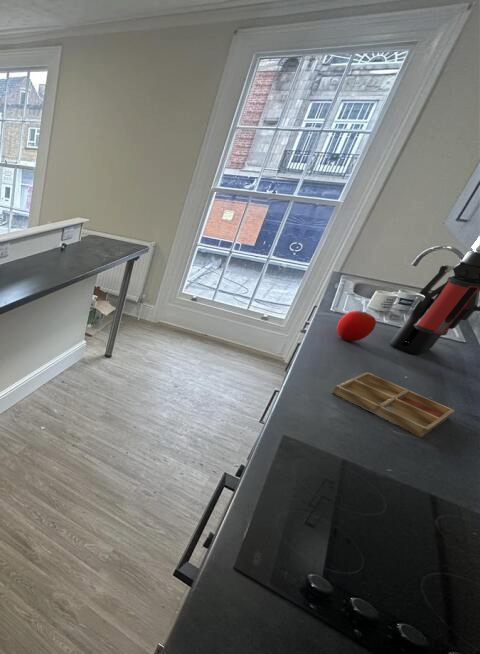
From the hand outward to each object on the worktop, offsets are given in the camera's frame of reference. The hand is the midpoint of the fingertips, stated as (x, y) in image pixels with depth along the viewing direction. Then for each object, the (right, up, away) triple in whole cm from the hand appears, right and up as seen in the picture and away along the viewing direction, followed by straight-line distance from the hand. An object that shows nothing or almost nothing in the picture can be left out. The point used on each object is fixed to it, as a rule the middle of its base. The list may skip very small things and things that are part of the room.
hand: (435, 322), depth 129 cm
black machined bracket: (+35, -8, +37) cm, 52 cm away
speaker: (0, -3, +2) cm, 3 cm away
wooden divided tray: (-18, -27, -3) cm, 32 cm away
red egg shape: (+8, -4, +39) cm, 40 cm away
